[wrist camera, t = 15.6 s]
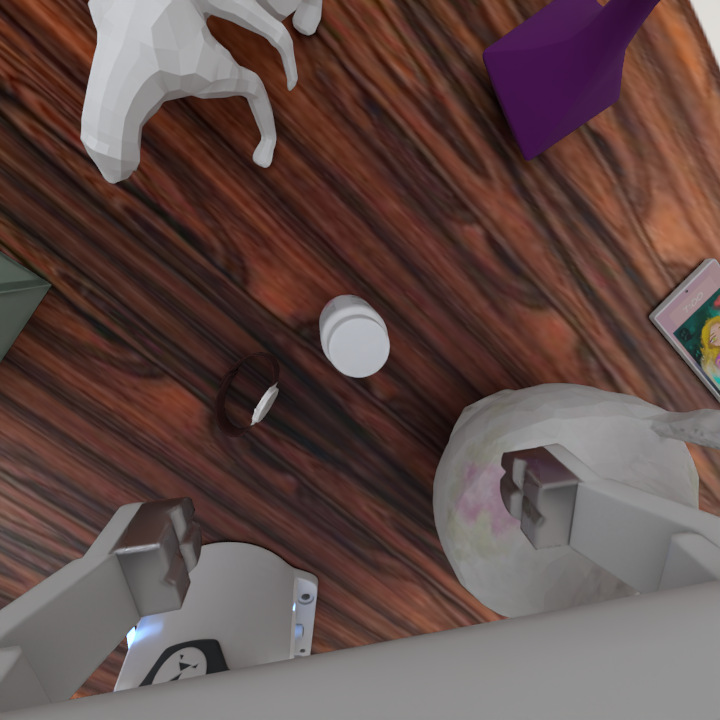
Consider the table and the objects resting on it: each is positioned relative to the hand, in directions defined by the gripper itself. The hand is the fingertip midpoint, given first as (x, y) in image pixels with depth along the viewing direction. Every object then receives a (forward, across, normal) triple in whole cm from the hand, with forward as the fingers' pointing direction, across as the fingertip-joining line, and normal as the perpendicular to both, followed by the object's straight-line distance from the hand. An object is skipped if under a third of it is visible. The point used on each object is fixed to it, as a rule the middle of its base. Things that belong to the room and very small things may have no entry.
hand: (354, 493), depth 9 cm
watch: (+23, -7, -5) cm, 24 cm away
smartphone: (+22, +38, -6) cm, 44 cm away
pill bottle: (+23, +2, 0) cm, 23 cm away
